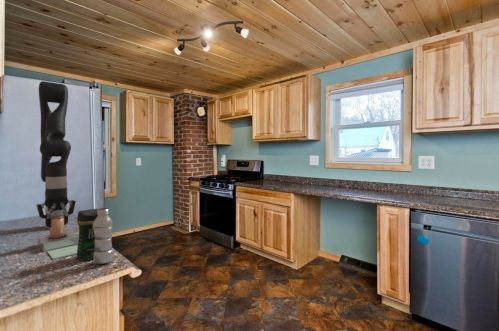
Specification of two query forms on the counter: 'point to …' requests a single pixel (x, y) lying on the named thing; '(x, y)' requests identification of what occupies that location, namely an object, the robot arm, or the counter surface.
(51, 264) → the counter surface
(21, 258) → the counter surface
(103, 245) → the plastic bottle
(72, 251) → the mat
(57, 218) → the tan rounded cylinder
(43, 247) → the housing
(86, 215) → the coffee jar
